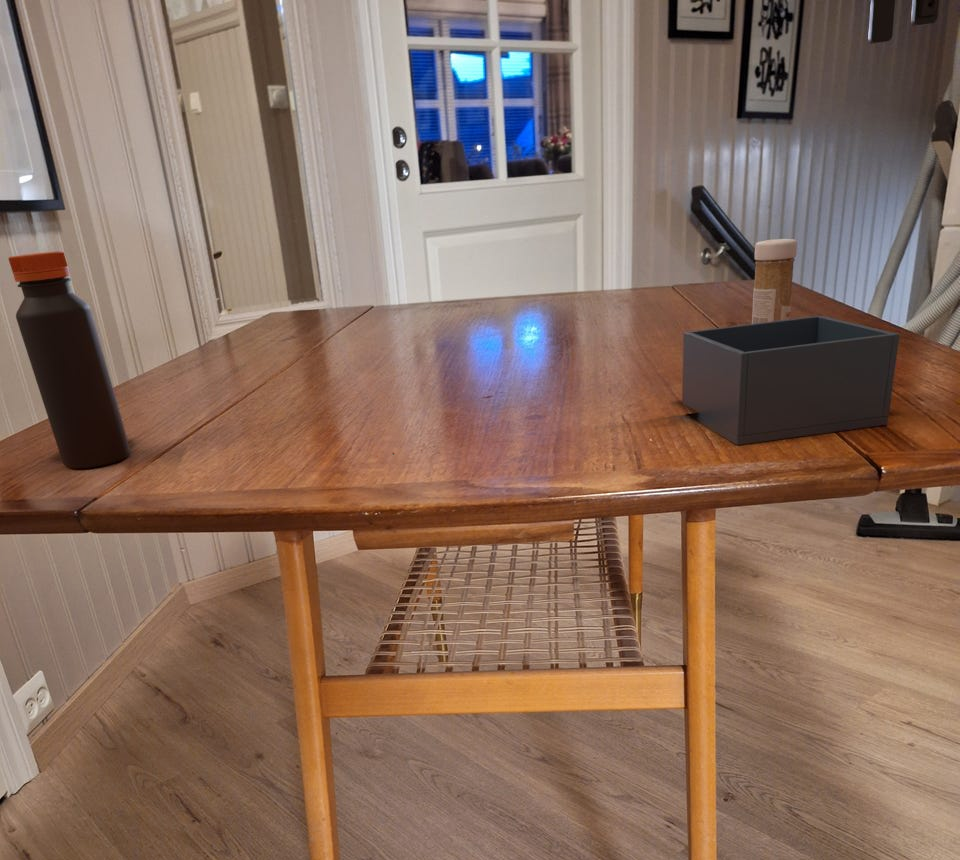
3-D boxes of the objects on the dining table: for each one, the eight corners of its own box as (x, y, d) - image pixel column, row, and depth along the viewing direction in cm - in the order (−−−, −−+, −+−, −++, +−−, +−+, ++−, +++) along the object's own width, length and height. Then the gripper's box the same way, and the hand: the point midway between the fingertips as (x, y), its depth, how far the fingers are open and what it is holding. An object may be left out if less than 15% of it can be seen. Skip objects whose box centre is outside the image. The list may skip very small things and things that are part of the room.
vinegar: (75, 455, 94) (12, 255, 85) (138, 448, 94) (83, 248, 85) (54, 473, 88) (-15, 260, 79) (122, 465, 88) (60, 252, 79)
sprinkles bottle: (795, 361, 104) (805, 238, 98) (760, 366, 103) (767, 243, 97) (775, 355, 108) (784, 237, 102) (741, 360, 107) (748, 241, 101)
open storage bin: (813, 395, 89) (821, 315, 85) (887, 425, 77) (900, 333, 74) (681, 412, 88) (683, 331, 84) (736, 445, 76) (741, 353, 72)
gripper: (1006, -220, 73) (980, 13, 80) (917, -153, 86) (901, 43, 93) (918, -209, 73) (899, 24, 80) (842, -143, 85) (832, 52, 93)
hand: (900, 34), depth 86 cm, fingers open, 8 cm apart
